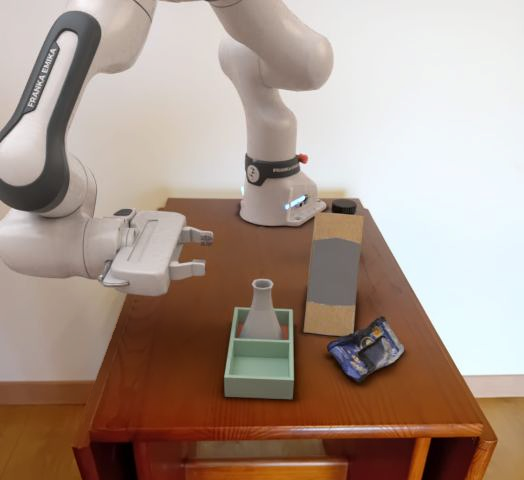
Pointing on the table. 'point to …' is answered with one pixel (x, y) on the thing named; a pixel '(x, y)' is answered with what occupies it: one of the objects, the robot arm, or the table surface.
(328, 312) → the sandwich container
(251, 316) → the flask
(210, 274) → the table surface
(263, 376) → the two-compartment tray
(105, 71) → the robot arm
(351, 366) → the snack package
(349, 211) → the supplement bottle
